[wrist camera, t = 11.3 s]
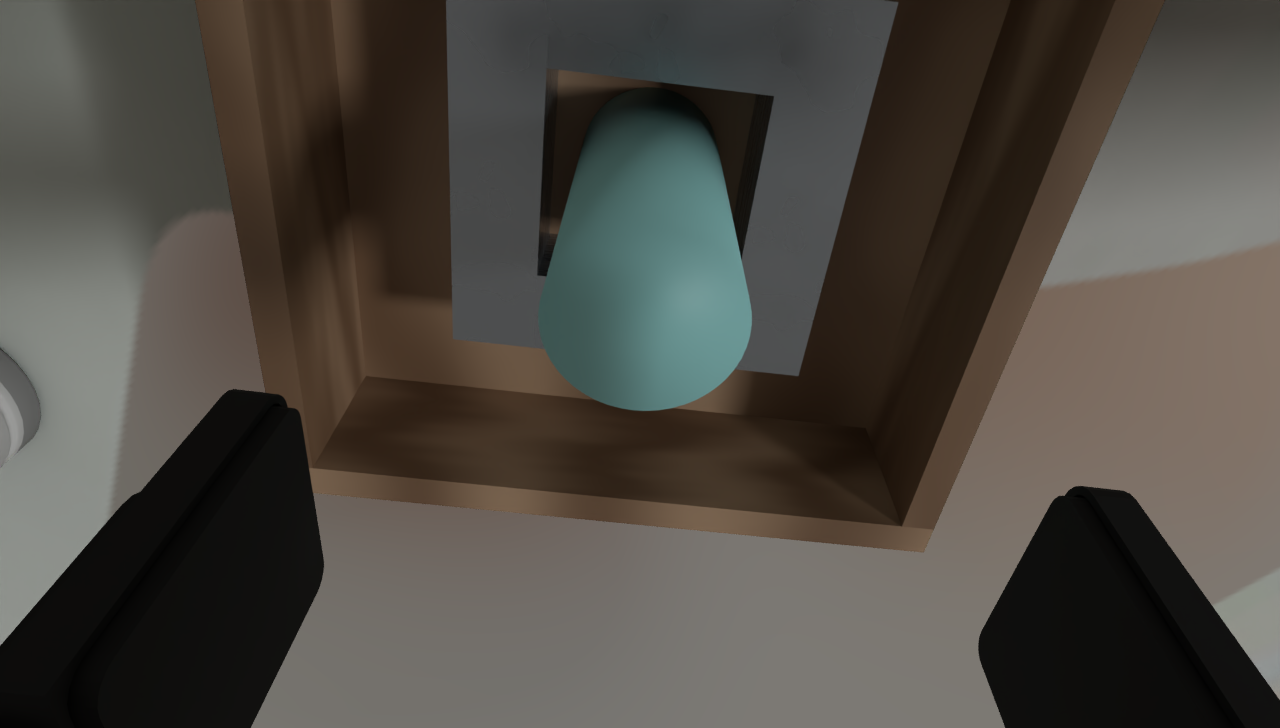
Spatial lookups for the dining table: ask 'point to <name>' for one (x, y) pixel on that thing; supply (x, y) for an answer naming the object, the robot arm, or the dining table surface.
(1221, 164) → the dining table surface
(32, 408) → the travel mug
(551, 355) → the peg
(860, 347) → the box
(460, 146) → the bore plate
